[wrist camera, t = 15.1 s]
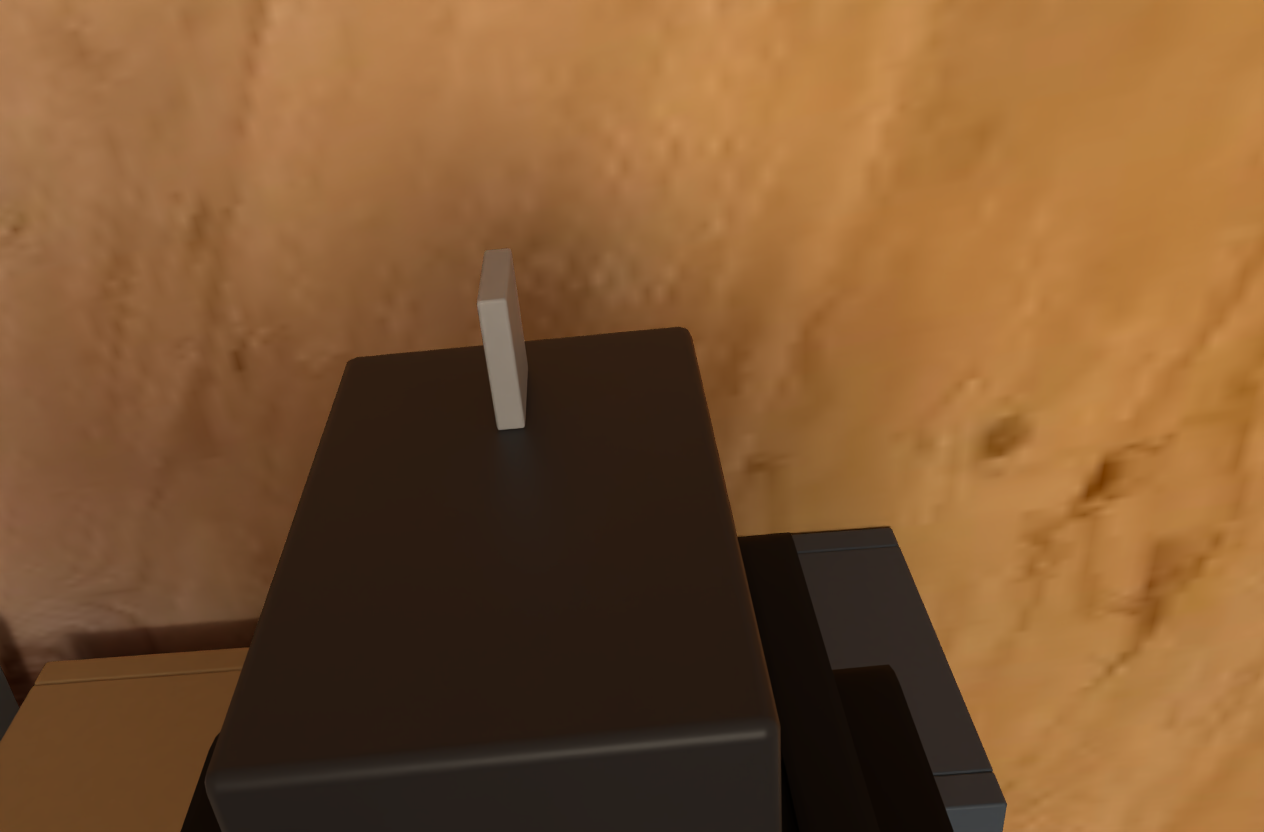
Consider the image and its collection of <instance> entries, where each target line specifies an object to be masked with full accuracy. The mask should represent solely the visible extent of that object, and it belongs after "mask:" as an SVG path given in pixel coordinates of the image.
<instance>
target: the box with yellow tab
mask: <svg viewBox="0 0 1264 832" xmlns="http://www.w3.org/2000/svg"><path fill="white" fill-rule="evenodd" d="M477 309H478V315H479V321H480V327H481V333H482V340H483V345H481V346H470V347H460V348H449V349H439V350H428V351H418V352H407V353H397V354H386V355H376V356H365V357H357V358H354V359H352V360H350V361H348V362H347V364H346V367H345V370H344V373H343V376H342V379H341V382H340V385H339V388H338V391H337V394H336V396H335V399H334V402H333V405H332V408H331V411H330V414H329V417H328V420H327V423H326V426H325V428H324V431H323V434H322V437H321V440H320V443H319V446H318V449H317V452H316V455H315V458H314V461H313V463H312V466H311V469H310V472H309V475H308V478H307V481H306V484H305V487H304V490H303V493H302V495H301V498H300V501H299V504H298V507H297V510H296V513H295V516H294V519H293V522H292V525H291V527H290V530H289V533H288V536H287V539H286V542H285V545H284V548H283V551H282V554H281V557H280V560H279V562H278V565H277V568H276V571H275V574H274V577H273V580H272V583H271V586H270V589H269V592H268V594H267V597H266V600H265V603H264V606H263V609H262V612H261V615H260V618H259V621H258V624H257V627H256V629H255V632H254V635H253V638H252V641H251V644H250V647H249V650H248V653H247V656H246V659H245V661H244V664H243V667H242V670H241V673H240V676H239V679H238V682H237V685H236V688H235V691H234V694H233V696H232V699H231V702H230V705H229V708H228V711H227V714H226V717H225V720H224V723H223V726H222V728H221V731H220V734H219V737H218V740H217V743H216V746H215V749H214V752H213V755H212V758H211V761H210V763H209V766H208V769H207V772H206V777H205V782H204V783H205V788H206V793H207V796H208V799H209V801H210V804H211V806H212V809H213V811H214V814H215V816H216V819H217V821H218V824H219V826H220V829H221V831H222V832H782V803H781V726H780V722H779V717H778V713H777V709H776V704H775V700H774V695H773V691H772V687H771V682H770V678H769V673H768V669H767V665H766V660H765V656H764V651H763V647H762V643H761V638H760V634H759V630H758V625H757V621H756V616H755V612H754V608H753V603H752V599H751V594H750V590H749V586H748V581H747V577H746V573H745V568H744V564H743V559H742V555H741V551H740V546H739V542H738V537H737V533H736V529H735V524H734V520H733V515H732V511H731V507H730V502H729V498H728V494H727V489H726V485H725V480H724V476H723V472H722V467H721V463H720V458H719V454H718V450H717V445H716V441H715V437H714V432H713V428H712V423H711V419H710V415H709V410H708V406H707V401H706V397H705V393H704V388H703V384H702V380H701V375H700V371H699V366H698V362H697V358H696V353H695V349H694V344H693V340H692V337H691V335H690V333H689V331H688V330H687V329H686V328H682V327H671V328H660V329H650V330H639V331H629V332H618V333H608V334H597V335H587V336H576V337H565V338H555V339H544V340H534V341H524V335H523V328H522V321H521V314H520V307H519V299H518V292H517V285H516V278H515V271H514V264H513V257H512V251H511V249H509V248H505V249H494V250H486V251H485V252H484V257H483V264H482V271H481V278H480V284H479V291H478V298H477Z"/></svg>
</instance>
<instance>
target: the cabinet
mask: <svg viewBox="0 0 1264 832" xmlns="http://www.w3.org/2000/svg"><path fill="white" fill-rule="evenodd" d="M792 537H793V540H794V543H795V547H796V550H797V553H798V557H799V560H800V563H801V567H802V570H803V574H804V577H805V580H806V584H807V587H808V590H809V594H810V597H811V601H812V604H813V607H814V611H815V614H816V618H817V621H818V624H819V628H820V631H821V634H822V638H823V641H824V645H825V648H826V651H827V655H828V658H829V661H830V665H831V668H832V670H835V669H845V668H856V667H866V666H876V665H887V664H889V665H890V666H891V667H892V669H893V670H894V671H895V674H896V676H897V678H898V680H899V683H900V685H901V688H902V690H903V693H904V696H905V699H906V701H907V704H908V707H909V710H910V712H911V715H912V718H913V721H914V723H915V726H916V729H917V732H918V734H919V737H920V740H921V743H922V745H923V748H924V751H925V754H926V756H927V759H928V762H929V765H930V767H931V770H932V773H933V776H934V778H935V781H936V784H937V787H938V789H939V792H940V795H941V798H942V800H943V803H944V806H945V809H946V811H947V814H948V817H949V820H950V822H951V825H952V828H953V830H954V832H1002V831H1003V825H1004V819H1005V813H1006V807H1007V803H1006V801H1005V798H1004V796H1003V794H1002V791H1001V789H1000V786H999V784H998V782H997V779H996V777H995V775H994V773H993V769H992V767H991V765H990V762H989V760H988V757H987V755H986V753H985V750H984V748H983V746H982V743H981V741H980V738H979V736H978V734H977V731H976V729H975V726H974V724H973V722H972V719H971V717H970V714H969V712H968V710H967V707H966V705H965V702H964V700H963V698H962V695H961V693H960V690H959V688H958V686H957V683H956V681H955V678H954V676H953V674H952V671H951V669H950V666H949V664H948V662H947V659H946V657H945V654H944V652H943V650H942V647H941V645H940V642H939V640H938V638H937V635H936V633H935V630H934V628H933V626H932V623H931V621H930V619H929V616H928V614H927V611H926V609H925V607H924V604H923V602H922V599H921V597H920V595H919V592H918V590H917V587H916V585H915V583H914V580H913V578H912V575H911V573H910V571H909V568H908V566H907V563H906V561H905V559H904V556H903V554H902V551H901V549H900V547H899V545H898V543H897V540H896V538H895V536H894V533H893V531H892V529H891V528H877V529H863V530H849V531H835V532H821V533H808V534H794V535H792Z"/></svg>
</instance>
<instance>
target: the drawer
mask: <svg viewBox="0 0 1264 832" xmlns="http://www.w3.org/2000/svg"><path fill="white" fill-rule="evenodd" d="M248 650H249V647H245V648H231V649H218V650H204V651H190V652H177V653H163V654H149V655H136V656H122V657H108V658H94V659H81V660H67V661H53V662H47V663H46V664H45V665H44V667H43V669H42V671H41V672H40V674H39V676H38V677H37V679H36V681H35V686H33V687H32V688H31V690H30V691H29V693H28V695H27V697H26V698H25V700H24V702H23V703H22V705H21V707H20V708H19V706H18V704H17V702H16V699H15V697H14V695H13V693H12V691H11V688H10V686H9V684H8V682H7V679H6V677H5V675H4V673H3V671H2V668H1V666H0V832H180V831H181V828H182V826H183V823H184V820H185V817H186V814H187V811H188V808H189V806H190V803H191V800H192V797H193V794H194V791H195V788H196V786H197V783H198V780H199V777H200V774H201V771H202V768H203V766H204V763H205V760H206V757H207V754H208V751H209V749H210V747H211V745H212V743H213V741H214V739H215V737H216V736H217V735H218V734H219V733H220V731H221V728H222V726H223V723H224V720H225V717H226V714H227V711H228V708H229V705H230V702H231V699H232V696H233V694H234V691H235V688H236V685H237V682H238V679H239V676H240V673H241V670H242V667H243V664H244V661H245V659H246V656H247V653H248Z"/></svg>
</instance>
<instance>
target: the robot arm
mask: <svg viewBox="0 0 1264 832" xmlns="http://www.w3.org/2000/svg"><path fill="white" fill-rule="evenodd" d="M738 542H739V546H740V551H741V555H742V559H743V564H744V568H745V573H746V577H747V581H748V586H749V590H750V594H751V599H752V603H753V608H754V612H755V616H756V621H757V625H758V630H759V634H760V638H761V643H762V647H763V651H764V656H765V660H766V665H767V669H768V673H769V678H770V682H771V687H772V691H773V695H774V700H775V704H776V709H777V713H778V717H779V722H780V726H781V803H782V832H954V830H953V828H952V825H951V822H950V820H949V817H948V814H947V811H946V809H945V806H944V803H943V800H942V798H941V795H940V792H939V789H938V787H937V784H936V781H935V778H934V776H933V773H932V770H931V767H930V765H929V762H928V759H927V756H926V754H925V751H924V748H923V745H922V743H921V740H920V737H919V734H918V732H917V729H916V726H915V723H914V721H913V718H912V715H911V712H910V710H909V707H908V704H907V701H906V699H905V696H904V693H903V690H902V688H901V685H900V683H899V680H898V678H897V676H896V674H895V671H894V670H893V669H892V667H891V666H890V665H889V664H887V665H876V666H866V667H856V668H845V669H835V670H832V668H831V665H830V661H829V658H828V655H827V651H826V648H825V645H824V641H823V638H822V634H821V631H820V628H819V624H818V621H817V618H816V614H815V611H814V607H813V604H812V601H811V597H810V594H809V590H808V587H807V584H806V580H805V577H804V574H803V570H802V567H801V563H800V560H799V557H798V553H797V550H796V547H795V543H794V540H793V537H792V535H791V534H790V533H779V534H768V535H758V536H747V537H738ZM219 734H220V733H219ZM219 734H218V735H217V736H216V737H215V739H214V741H213V743H212V745H211V747H210V749H209V751H208V754H207V757H206V760H205V763H204V766H203V768H202V771H201V774H200V777H199V780H198V783H197V786H196V788H195V791H194V794H193V797H192V800H191V803H190V806H189V808H188V811H187V814H186V817H185V820H184V823H183V826H182V828H181V831H180V832H222V831H221V829H220V826H219V824H218V821H217V819H216V816H215V814H214V811H213V809H212V806H211V804H210V801H209V799H208V796H207V793H206V788H205V783H204V782H205V777H206V772H207V769H208V766H209V763H210V761H211V758H212V755H213V752H214V749H215V746H216V743H217V740H218V737H219Z"/></svg>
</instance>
